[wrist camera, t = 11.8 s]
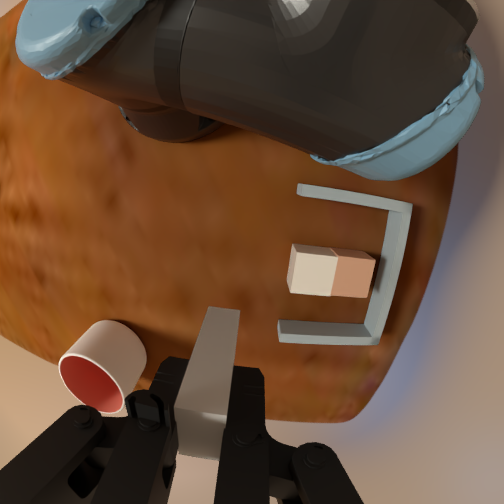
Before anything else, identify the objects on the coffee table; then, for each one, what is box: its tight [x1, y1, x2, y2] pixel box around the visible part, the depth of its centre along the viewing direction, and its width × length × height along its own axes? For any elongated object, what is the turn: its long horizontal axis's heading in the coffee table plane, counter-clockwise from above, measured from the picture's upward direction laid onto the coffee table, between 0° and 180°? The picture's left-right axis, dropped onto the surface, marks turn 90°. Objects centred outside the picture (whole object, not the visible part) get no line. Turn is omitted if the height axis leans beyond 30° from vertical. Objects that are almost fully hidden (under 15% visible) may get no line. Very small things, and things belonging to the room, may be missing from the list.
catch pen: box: [277, 184, 413, 345], centre depth 31 cm, size 13×18×4 cm
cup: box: [59, 320, 147, 414], centre depth 32 cm, size 10×10×10 cm
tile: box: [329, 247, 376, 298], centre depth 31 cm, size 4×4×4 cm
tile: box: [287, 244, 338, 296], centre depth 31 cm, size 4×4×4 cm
